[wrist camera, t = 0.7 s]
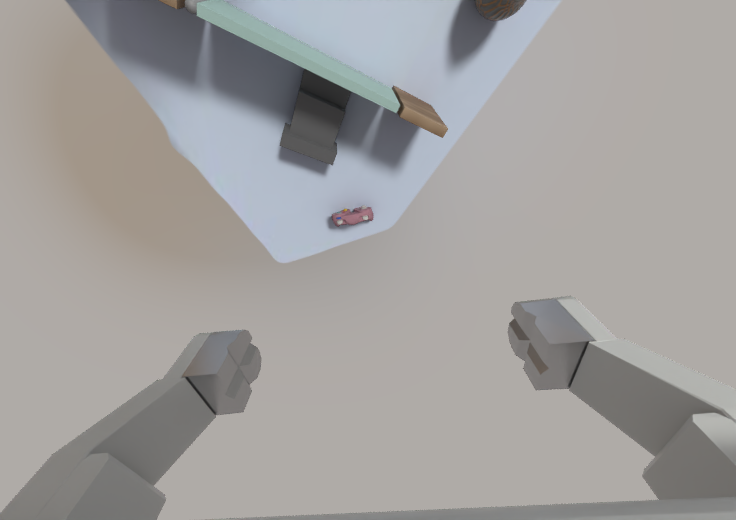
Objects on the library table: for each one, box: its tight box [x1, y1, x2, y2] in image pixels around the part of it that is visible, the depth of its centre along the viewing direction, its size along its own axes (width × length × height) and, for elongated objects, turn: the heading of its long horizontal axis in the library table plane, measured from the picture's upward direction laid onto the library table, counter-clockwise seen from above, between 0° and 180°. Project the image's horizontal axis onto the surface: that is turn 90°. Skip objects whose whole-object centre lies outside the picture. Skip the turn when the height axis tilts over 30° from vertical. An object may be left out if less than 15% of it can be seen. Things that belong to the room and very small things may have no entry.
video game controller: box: [332, 205, 373, 227], centre depth 64 cm, size 10×5×7 cm, turn 99°
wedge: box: [280, 69, 351, 165], centre depth 47 cm, size 14×10×4 cm
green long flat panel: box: [185, 0, 400, 113], centre depth 38 cm, size 28×1×8 cm, turn 66°
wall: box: [159, 0, 448, 138], centre depth 38 cm, size 2×48×11 cm, turn 65°
